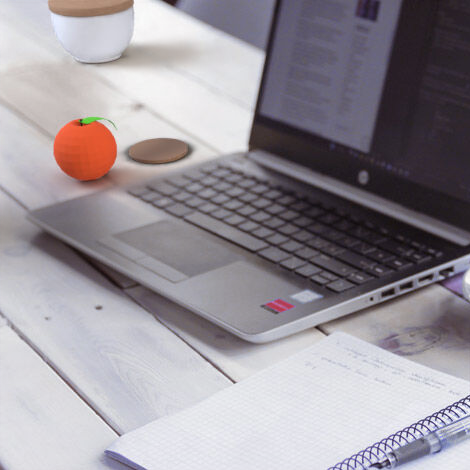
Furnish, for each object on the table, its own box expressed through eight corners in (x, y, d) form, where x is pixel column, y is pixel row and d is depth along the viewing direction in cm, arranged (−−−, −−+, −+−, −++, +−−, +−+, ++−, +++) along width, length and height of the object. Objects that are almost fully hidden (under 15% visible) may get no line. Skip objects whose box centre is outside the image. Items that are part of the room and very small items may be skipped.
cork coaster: (120, 161, 112) (120, 158, 112) (141, 139, 118) (140, 136, 118) (177, 165, 111) (177, 162, 111) (195, 142, 117) (195, 139, 117)
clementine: (102, 157, 113) (95, 101, 110) (140, 173, 109) (133, 114, 106) (45, 179, 108) (35, 120, 104) (83, 196, 104) (74, 135, 100)
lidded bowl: (146, 63, 145) (139, -10, 140) (62, 73, 141) (50, -2, 136) (131, 41, 156) (123, -28, 150) (51, 49, 151) (40, -21, 146)
